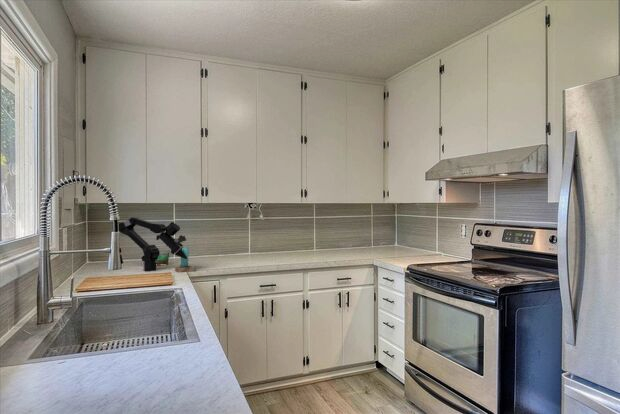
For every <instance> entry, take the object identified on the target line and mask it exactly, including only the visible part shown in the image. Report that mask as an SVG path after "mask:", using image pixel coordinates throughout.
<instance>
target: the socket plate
mask: <svg viewBox="0 0 620 414" xmlns="http://www.w3.org/2000/svg"><path fill="white" fill-rule="evenodd" d="M174 271H175V272H178V273H191V272H194V271H195V267H194V266H192V265H188V267H186V268H181V265H178V266H176V265H175V266H174Z"/></svg>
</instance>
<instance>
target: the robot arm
mask: <svg viewBox="0 0 620 414" xmlns="http://www.w3.org/2000/svg"><path fill="white" fill-rule="evenodd" d="M118 224H119V231H118V232H119V233H121V234H123V235H125V236H128V238H129V239H130V240H132V241H133V243H135V245H137V246H138V247H139V248H140V249H141V250H142V253H143V255H142V256H141V261H142V262H143V269H142V271H144V272H152V271H153V272H155V271H157V265H156V260H157V259H158V256H159V254H160V251H161V250H159V247H157V246H156V245H155V244H149V243H148V242H147V241H146V240H144V238H143V237H142V236H141V235H139V234H138V233H137V232H136V231H135V228H134V227H136V226H139V227H142V228H146V229H148V230H149V231H150V232H152V233H154V234H157V235H156V238H155V240H156V241H158V240H160V241H161V242H163V243H164V244H165V246H166V247H168V248H169V250H170V254H172V255H173V256H178V257H179V258H181V257H182V258H184V259H187V257H186V255H185V254H184V253H183V251H182V248H184V244H182V243H183V242H186V241H187V238H186V236H185V235H182V234H181V235H179V237H178V238H175V237H173V236H175V235H176V234H177V233H178V232H179V231H180V230H181V227H180V226H179V224H177V223H175V222H174V221H171V222H170V223H169V224H168V225H167V226H166V225H165V224H164V223H159V222H155V223H154V222H151V221H148V220H144V219H142V218H139V217H134V216H133V217H132V216H131V217H130V218H129V219H126V220H125V221H122V222H120V223H118Z"/></svg>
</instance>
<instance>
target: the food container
mask: <svg viewBox="0 0 620 414" xmlns="http://www.w3.org/2000/svg"><path fill="white" fill-rule="evenodd" d="M159 251H160V254H159V256H158V259H157V260H156V264H167V263H168V264H169V259H170V254H171V249H168V250H159ZM168 264H167V265H168Z"/></svg>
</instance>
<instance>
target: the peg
mask: <svg viewBox="0 0 620 414" xmlns="http://www.w3.org/2000/svg"><path fill="white" fill-rule="evenodd" d="M181 248H182V247H181ZM182 251H183V253H184V254H185V255H186V257H187V259H184V258H182V257H180V266H181V268H186V267H188V266H189V247H183V248H182Z"/></svg>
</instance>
